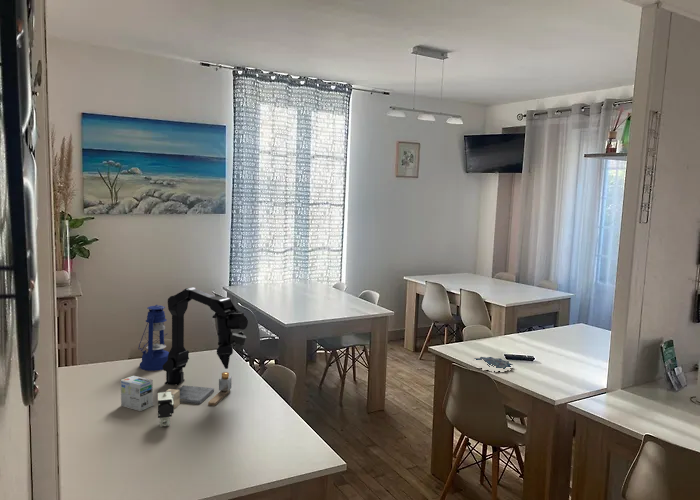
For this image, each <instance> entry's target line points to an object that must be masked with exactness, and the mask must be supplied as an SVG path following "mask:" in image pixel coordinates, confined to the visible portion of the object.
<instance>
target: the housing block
mask: <svg viewBox="0 0 700 500" xmlns="http://www.w3.org/2000/svg"><path fill="white" fill-rule="evenodd" d="M166 391H171V395H174V398H173V403H174V409H176V408H177V407H178V406H180V403H181V402H180V390H178V389H173V388H168V389H167V390H166Z"/></svg>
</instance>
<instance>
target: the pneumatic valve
mask: <svg viewBox="0 0 700 500" xmlns="http://www.w3.org/2000/svg"><path fill="white" fill-rule="evenodd" d="M173 398H174V395H171V391H167V390H166V391H158V392H157V418H158V419H159V427H160V428H162V427H169V426H170V425H171V423H170V422H171V421H170V419H171V417H173V415H174V414H175V411H174V403H173Z"/></svg>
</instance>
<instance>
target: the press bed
mask: <svg viewBox="0 0 700 500" xmlns="http://www.w3.org/2000/svg"><path fill="white" fill-rule="evenodd" d="M177 390H180V403H184V404H192V405H194V404H195V405H201V404H202V403H203V402H204V401H206V400H207V399H208V397H209V398H210V396H211V395H212V394H213V393H214V392H215V388H213V387H205V386H194V385H181V387H179V388H178V389H177ZM230 392H231V389H230V390H229V391H219V392H217V394H215V395H214V396H213V397H212V398H211V399H210V400H209V401H208V402H207V406H217V405H218V404H219V403H220V402H221V401H222V400H223V399H224V398H225V397H226V396H227V395H228V394H229V393H230Z"/></svg>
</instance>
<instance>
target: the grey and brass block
mask: <svg viewBox="0 0 700 500" xmlns="http://www.w3.org/2000/svg"><path fill="white" fill-rule="evenodd" d="M232 379H233V378H232V376H230V372H228V371H223V372H221V377H219V379H218V391H219V392H220V391H229V390H230V391H231V389H232Z"/></svg>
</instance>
